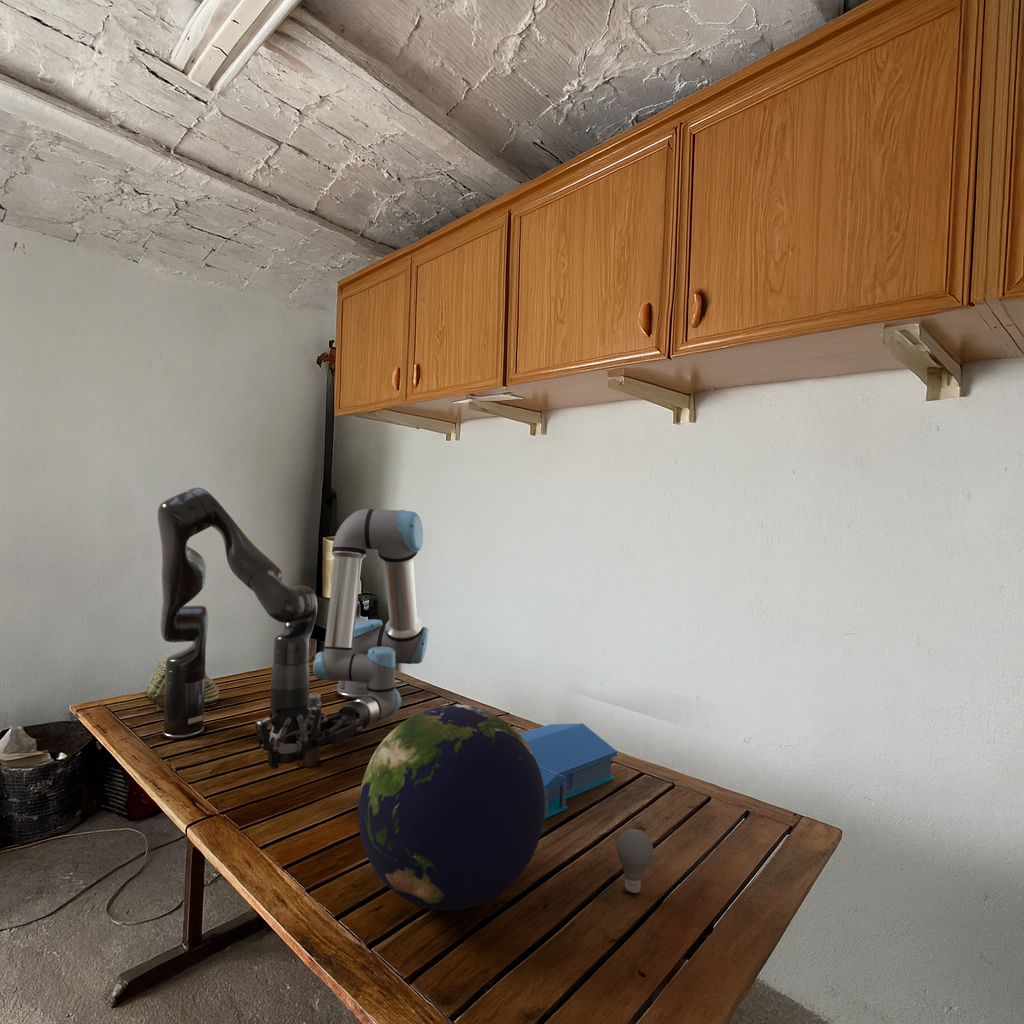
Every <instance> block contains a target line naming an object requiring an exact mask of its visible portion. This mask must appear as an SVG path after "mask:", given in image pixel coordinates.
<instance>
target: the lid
mask: <svg viewBox="0 0 1024 1024" xmlns="http://www.w3.org/2000/svg"><path fill="white" fill-rule="evenodd" d="M278 751H279V764H285V765H286V764H293V763H296V762H299V759H300V758H301V753H302V749H301V746H300V745H298V744H283V743H282V744H280V746H279V749H278Z"/></svg>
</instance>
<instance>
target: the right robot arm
mask: <svg viewBox="0 0 1024 1024" xmlns="http://www.w3.org/2000/svg"><path fill="white" fill-rule="evenodd" d="M423 544H424V530H423V523H422V520H421V517H420V516H419V514H418V513H417V512H415V511H411V510H405V509H399V510H397V509H377V508H375V509H374V508H373V509H372V508H362V509H359V510H356V511H355V512H353V513H352V514H350V515H349V516H348V517H347V518H346V519H345V520H344V521H343V522H342V524H341V525H340V526H339V528H338V529H337V531H336V533H335V536H334V539H333V542H332V547H331V555H332V557H334V561H333V563H334V564H333V571H332V580H331V589H330V595H329V596H330V597H329V605H328V612H327V613H328V614H327V622H326V630H325V640H324V650H323V651H319V652H317V653H316V654H315V656H314V661H313V664H312V672H313V676H314V677H315V678H316V679H318V680H324V681H330V682H333V681H338V682H337V685H336V695H337V696H338V698H342V699H345V700H352V701H350V702H349V703H346V704H344V705H342V706H341V707H340V708H339V710H338V711H337V712H336V713H334V714H330V716H326V715H325V713H324V712H321V727H320V732H319V733H317V734H316V736H315V737H314V738H310V739H309V740H308V742H307V749H306V752H307V751H309V750H311V749H313V748H315V747H317V746H319V747H321V746H322V745H324V744H325V745H327V744H330V743H331V745H338V744H339V743H342V742H344V741H346V740H347V739H350V738H351V737H354V736H356V735H359V734H362V733H363V730H364V729H366V728H367V727H370V726H371V725H373V724H375V723H378V722H380V721H382V720H384V719H387V718H389V717H390V716H392V715H394V714H395V713H397V712H398V711H399V709H400V708H401V706H402V696H401V694H400V692H399V690H397V688H395V681H396V677H395V676H396V667H397V664H403V665H418V664H421V663H422V662H423V661H424V658H425V654H426V650H427V644H428V639H429V628H428V627H426V626H423V622H422V620H421V619H420V618H419V617H418V613H417V612H418V611H417V597H416V595H417V594H416V582H415V581H416V580H415V566H414V565H415V564H414V559H415V558H416V557H417V556H418V554H419V552H420V551H421V550H422V549H423ZM367 550H377V553H378V554H377V555H378V557H379V559H380V560H381V561H383V563H384V564H383V565H384V576H385V585H386V597H387V609H388V619H389V620H388V621H387V622H386V624H385V625H383V624H384V623H383V621H382V620H381V619H375V618H374V619H363V620H357V621H356V616H357V608H358V607H357V606H358V598H359V588H360V581H361V580H360V579H361V571H362V561H363V559H365V558H366V557H367ZM296 741H298V739H297V736H296V734H295V732H294V731H292V732H290V733H287V734H285V737H284V739H283V741H282V742H283V743H282V745H283V744H296Z"/></svg>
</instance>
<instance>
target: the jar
mask: <svg viewBox="0 0 1024 1024" xmlns="http://www.w3.org/2000/svg"><path fill="white" fill-rule="evenodd" d="M321 698H322V694H320V693H317V692H315V693H313V692H311V693H310V692H309V702H308V704H307V706H308V708H311V707H315V708H318V709H320V710H321V711H322V709H323V708H322V706H323V703H322V701H321ZM321 713H322V712H321ZM321 713H320V718H319V723H318V727H317V732H316V734H317V733H319V732H320V727H321ZM307 720H308V717H306V718H305V720H304V725H305V727H306V724H307ZM319 763H320V746H317V747H315V748H313V749H311V750H309V751H307V752H306V757H304V760H303V761H299V760H298V765H299V766H300V767H304V768H309V767H310V768H311V767H315V766H317V765H318V764H319Z"/></svg>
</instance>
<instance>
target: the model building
mask: <svg viewBox="0 0 1024 1024" xmlns="http://www.w3.org/2000/svg"><path fill="white" fill-rule="evenodd" d="M519 734H520V735H521V736H522V738H523V739H524V740H525V741H526V742H527V744H528V746H529V747H530V749H531V750H532V752H533V754H534V756H535V758H536V761H537V764H538V766H539V769H540V772H541V775H542V780H543V785H544V792H545V817H544V820H546V819H549V818H550V817H552V816H555V815H558V814H559V813H562V812H563V811H566V810H568V809H569V806H567V800H568V799H570V798H572V797H575V796H577V795H580V794H582V793H585V792H587V791H589V790H591V789H594V788H597V787H599V786H601V785H603V784H606V783H609V782H610V781H613V780H615V776H614V775H612V758H614V757H617V756H618V751H617V750H616V749H615V748H614V747H612V746H611V745H610V744H609V743H608V742H607V741H605V740H604V739H603V738H602V737H600V736H599V734H597V733H595V732H594V731H593V730H592V729H590V727H588V726H587V725H586V724H584V723H583V722H581V723H550V724H548V725H547V724H546V725H544V726H543V725H542V726H540V727H537V728H533V729H530V730H526V731H524V732H520V733H519Z"/></svg>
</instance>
